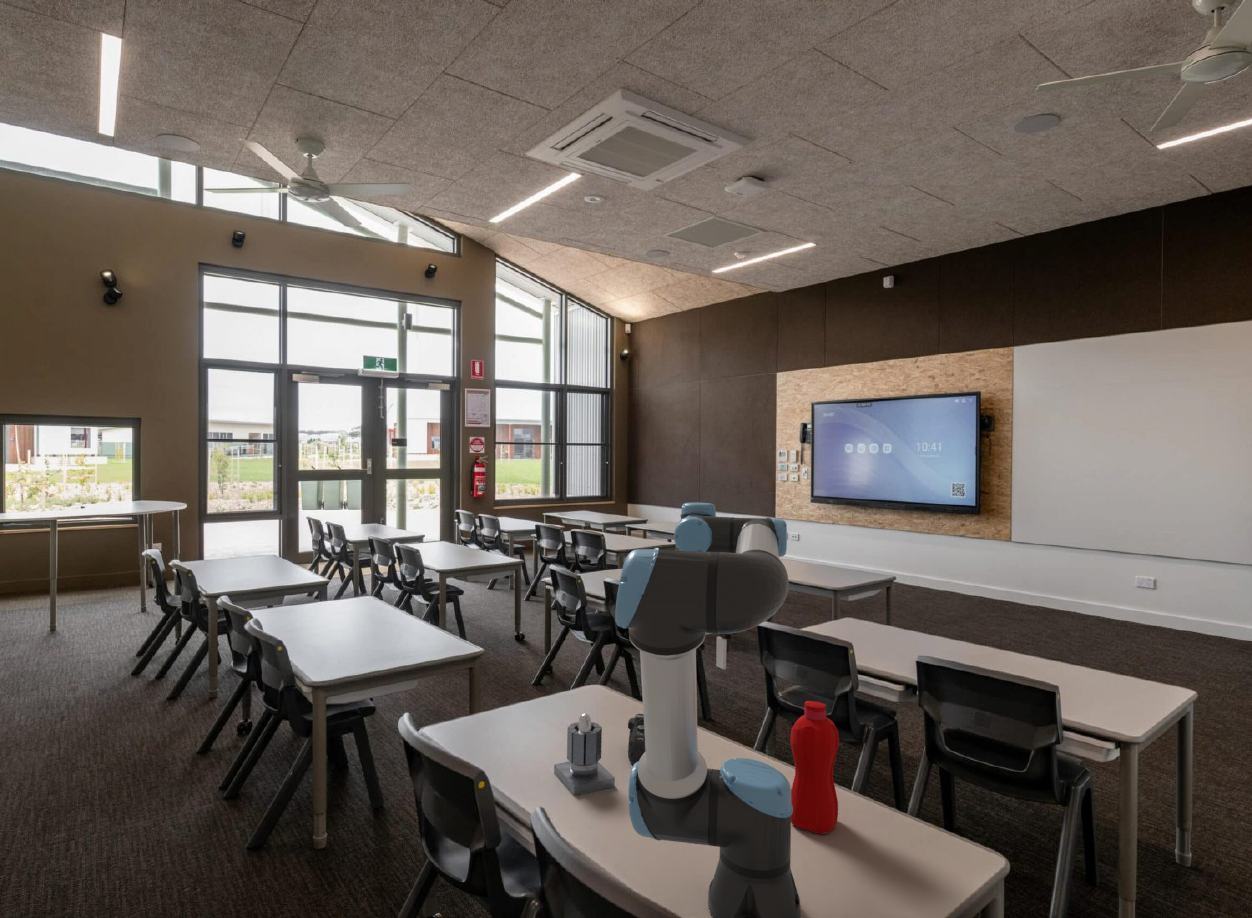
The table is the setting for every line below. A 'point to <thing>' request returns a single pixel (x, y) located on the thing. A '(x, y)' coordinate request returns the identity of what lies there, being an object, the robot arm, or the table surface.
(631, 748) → the camera
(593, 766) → the shaft block
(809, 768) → the water bottle
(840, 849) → the table surface
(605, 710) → the table surface
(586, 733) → the hub
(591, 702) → the table surface
